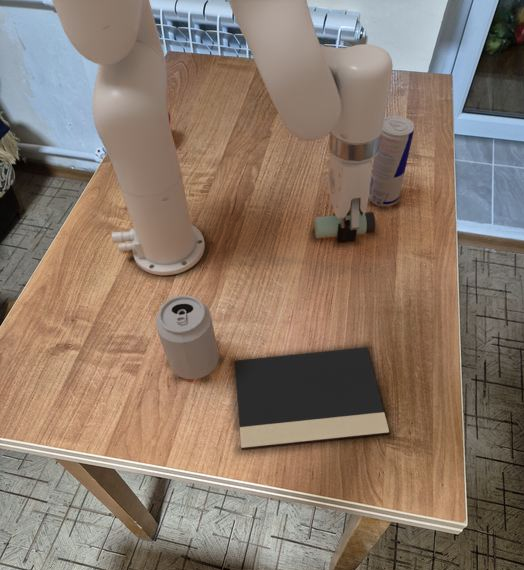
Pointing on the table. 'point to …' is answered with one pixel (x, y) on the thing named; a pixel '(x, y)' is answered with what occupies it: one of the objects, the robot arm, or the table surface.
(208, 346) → the can
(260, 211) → the table surface
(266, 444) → the book
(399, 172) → the beverage can
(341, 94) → the robot arm
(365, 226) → the vial
